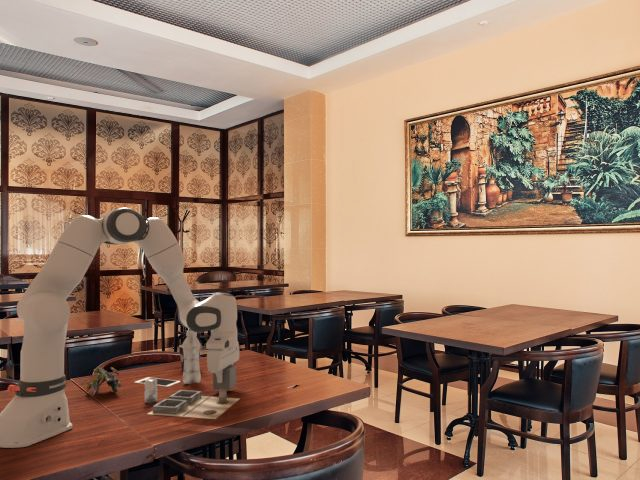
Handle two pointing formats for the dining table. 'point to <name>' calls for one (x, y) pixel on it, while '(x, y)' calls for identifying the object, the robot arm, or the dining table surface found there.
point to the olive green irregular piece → (106, 377)
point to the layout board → (194, 405)
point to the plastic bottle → (191, 358)
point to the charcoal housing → (226, 378)
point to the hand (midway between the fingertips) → (224, 379)
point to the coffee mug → (183, 356)
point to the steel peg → (150, 390)
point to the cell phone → (160, 382)
